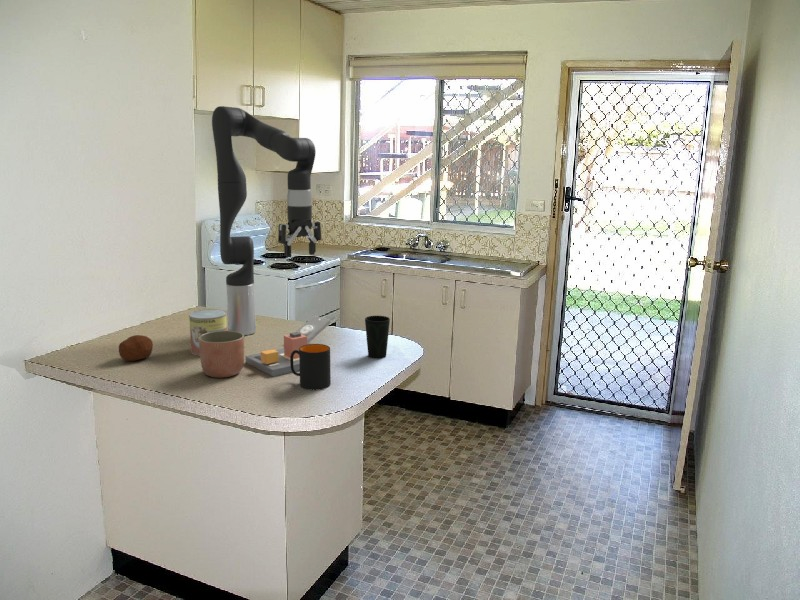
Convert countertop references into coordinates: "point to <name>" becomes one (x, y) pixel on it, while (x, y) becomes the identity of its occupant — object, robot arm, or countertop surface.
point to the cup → (377, 336)
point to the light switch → (313, 327)
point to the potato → (135, 348)
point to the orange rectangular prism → (269, 356)
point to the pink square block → (294, 343)
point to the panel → (274, 364)
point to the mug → (313, 366)
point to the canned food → (205, 325)
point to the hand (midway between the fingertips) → (300, 255)
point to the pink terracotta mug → (221, 353)
